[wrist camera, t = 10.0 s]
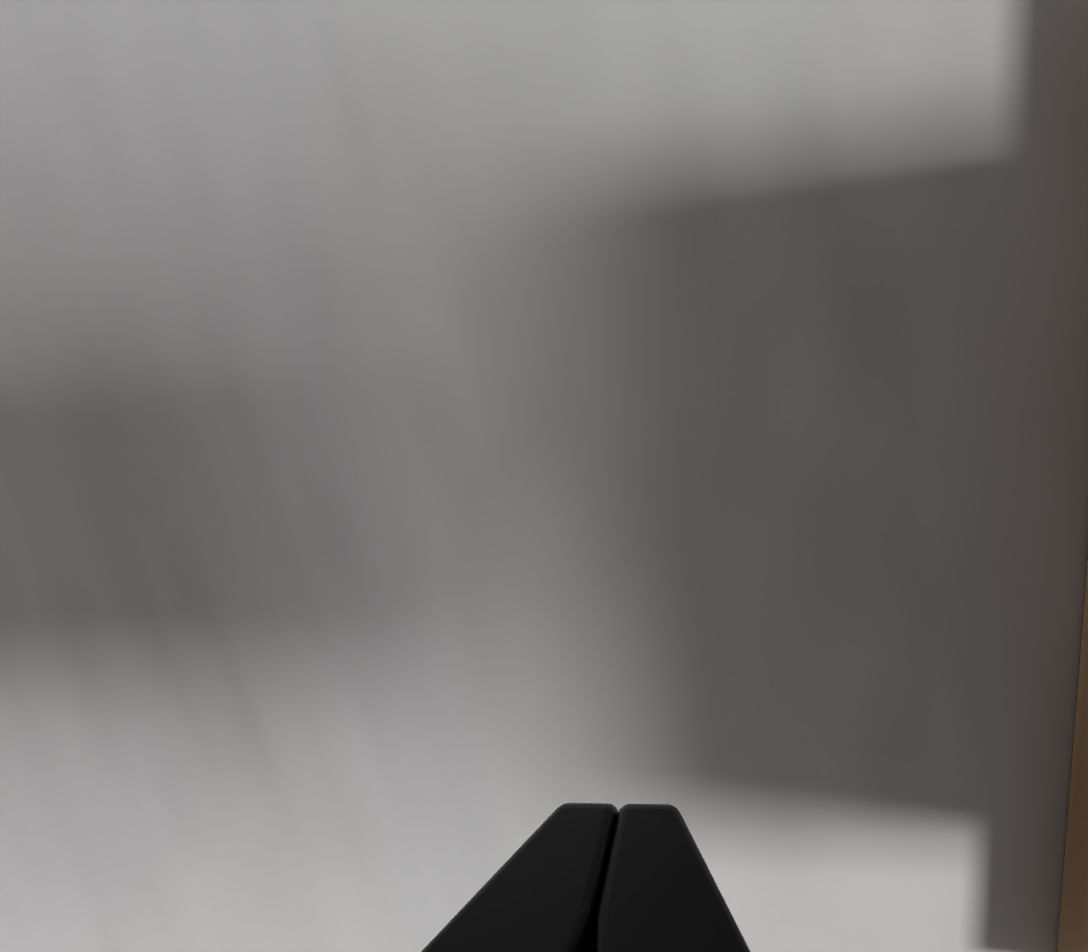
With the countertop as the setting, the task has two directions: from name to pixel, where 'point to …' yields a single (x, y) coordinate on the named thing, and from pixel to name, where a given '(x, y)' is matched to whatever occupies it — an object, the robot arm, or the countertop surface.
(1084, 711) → the shelf
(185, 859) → the countertop surface
